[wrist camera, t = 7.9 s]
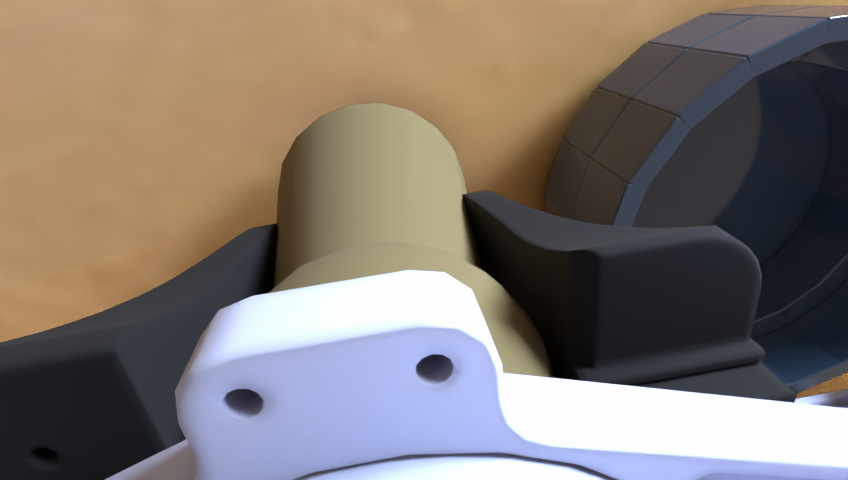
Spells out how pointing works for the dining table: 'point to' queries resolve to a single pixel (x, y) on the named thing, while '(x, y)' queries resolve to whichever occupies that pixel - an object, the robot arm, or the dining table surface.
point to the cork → (389, 217)
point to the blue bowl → (734, 162)
